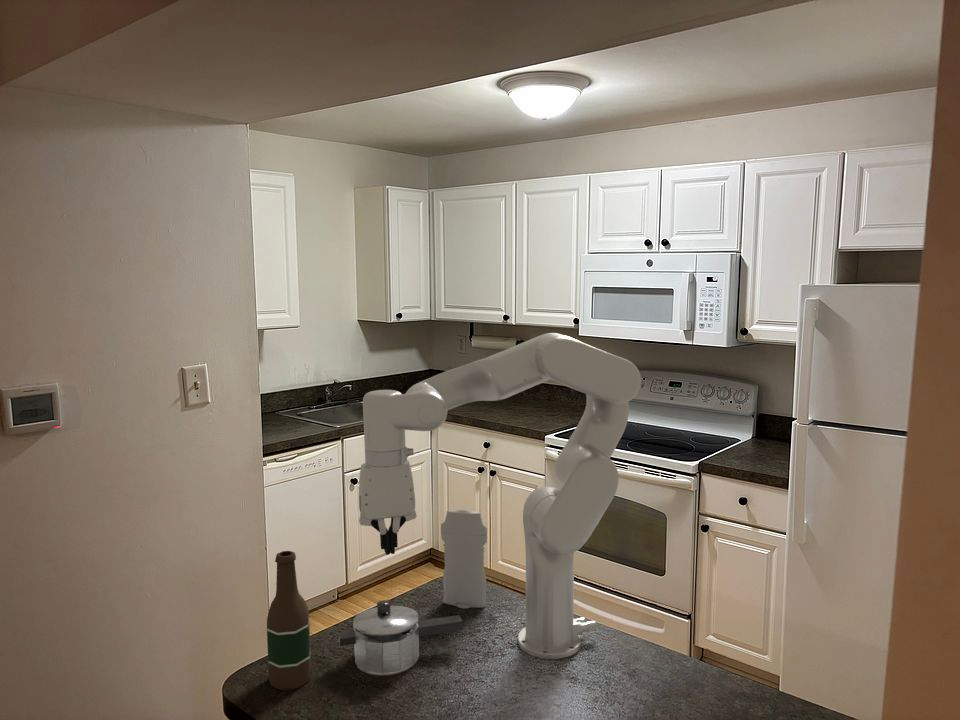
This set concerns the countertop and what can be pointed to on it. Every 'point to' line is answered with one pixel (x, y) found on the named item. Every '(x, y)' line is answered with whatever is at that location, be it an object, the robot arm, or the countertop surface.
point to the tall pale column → (464, 559)
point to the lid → (385, 620)
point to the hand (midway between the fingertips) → (389, 551)
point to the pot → (395, 646)
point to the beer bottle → (288, 629)
